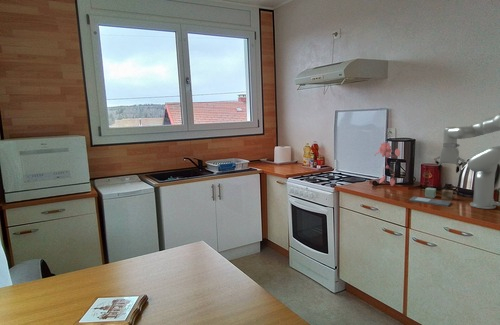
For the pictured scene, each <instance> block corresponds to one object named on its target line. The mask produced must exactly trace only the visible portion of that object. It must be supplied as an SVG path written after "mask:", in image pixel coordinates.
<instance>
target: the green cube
mask: <svg viewBox="0 0 500 325" xmlns="http://www.w3.org/2000/svg"><path fill="white" fill-rule="evenodd" d="M436 196H437V188H434V187H426V188H425V189H424V198H429V199H435V198H436Z"/></svg>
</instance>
